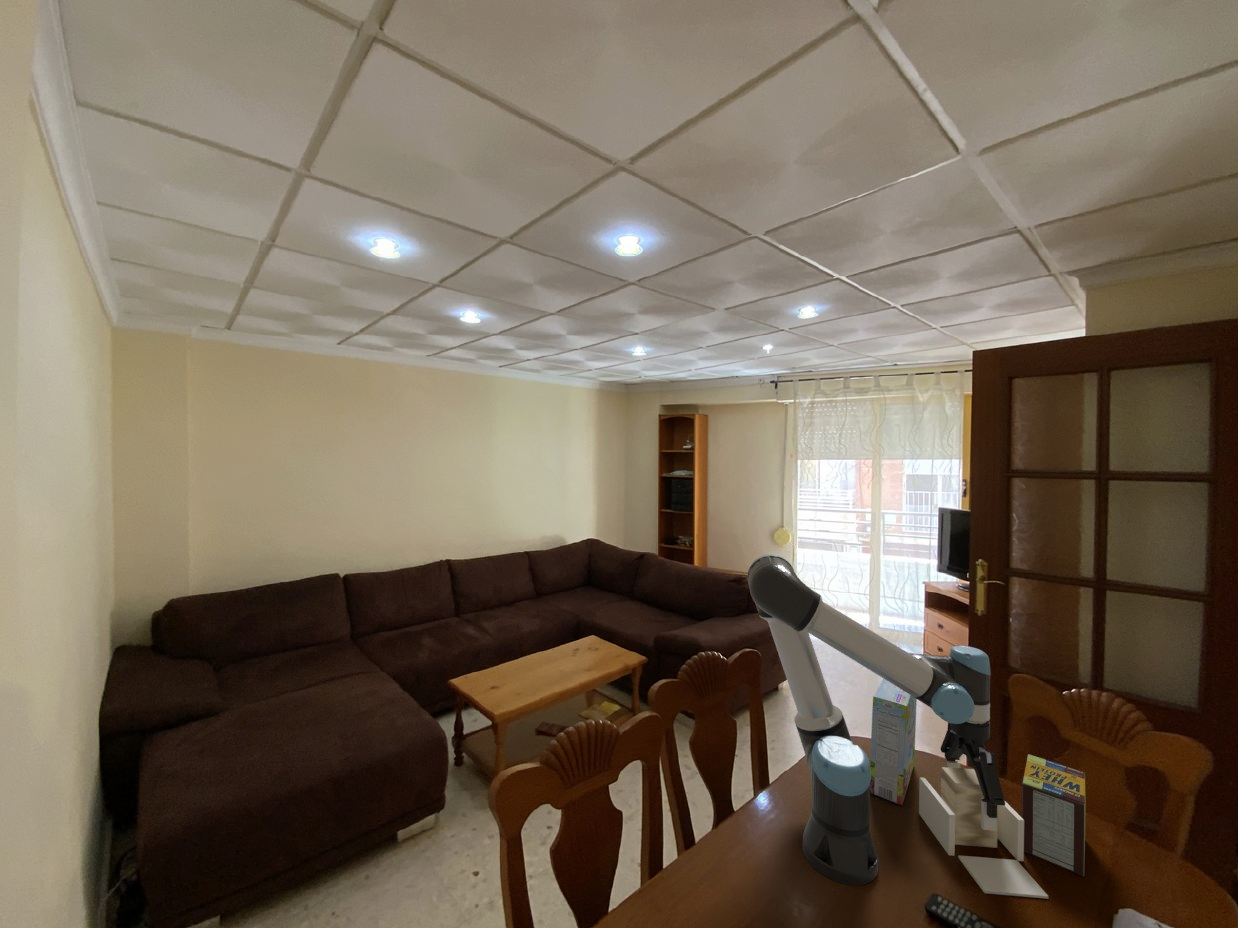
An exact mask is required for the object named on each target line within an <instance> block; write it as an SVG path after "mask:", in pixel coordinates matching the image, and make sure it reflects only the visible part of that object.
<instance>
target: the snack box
mask: <svg viewBox="0 0 1238 928" xmlns="http://www.w3.org/2000/svg"><path fill="white" fill-rule="evenodd" d="M917 701H918V700H917V699H916V698H915V697H913V696H911V695H910V694H908V693H907V692H905V691H903V690H902V689H900V688H898V687H897V686H895V685H893V684H892V683H890V682H889V681H887V680H885V679H884V678H882V680H881V683H880V684H879V685H878V688H877V689H876V691H875V693H874V695H873V697H872V711H871V712H872V713H871V714H872V715H871V735H870V736H871V737H870V738H871V739H870V759H869V763H870V770H871V781H870V794H872V795H874V796H878V797H880V798H882V799H884V800H887V801H889V802H892V803H894V804H897V805H899V806H903V804H904V800H905V797H906V795H907V790H908V787H909V784H910V781H911V776H912V773H913V770H914V768H915V767H914V766H915V756H916V755H915V754H916V753H915V750H916V730H917V729H916V726H917V725H916V724H917V704H918V703H917Z"/></svg>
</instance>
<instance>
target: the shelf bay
mask: <svg viewBox="0 0 1238 928" xmlns="http://www.w3.org/2000/svg"><path fill="white" fill-rule="evenodd" d="M918 778H919V779H918V780H919V781H918V782H919V783H918V784H919V785H918V786H919V790H918V791H919V792H918V795H919V796H918V800H919V801H918V814H919V816H920V817H921V818H922V820H923V821H924V822H925V824H926V825H927V827H928V828H929V830H930V831H931V833H932V834H933V836H934V837H935V838H936V840H937V841H938V843H939V844H940V845H941V846H942V848H943V849H944V851H945V852H946V853H947V855H948V856H952V857H953V856H954V857H955V850H956V849H955V846H956V845H955V814H954V813H953V812H952V811H951V809H950V808H949V807H948V806H947V805H946V803H945V802H944V801H943V800H942V798H941V795H939V793H938V792H937V791H936V790H935V789H934V787H933V786H932V784H930V783H929V781H928V780H927V779H926V777H918ZM997 840H998V841H999V842H1001V844H1002V845H1003V846H1004V847H1005V848H1006V849H1007V850H1008V852H1009V853H1010V854H1011V855H1012V856H1013V857H1014V858H1015V860H1017V861H1018V862H1024V860H1025V859H1024V856H1025V855H1024V853H1025V852H1024V820H1023V818H1022V816H1021V815H1019V813H1018V812H1017V811H1016V810H1015V809H1014V808H1013V807H1011V805H1010V804H1009V803H1008V802H1007V801H1006V800H1005V805H998V827H997Z"/></svg>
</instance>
